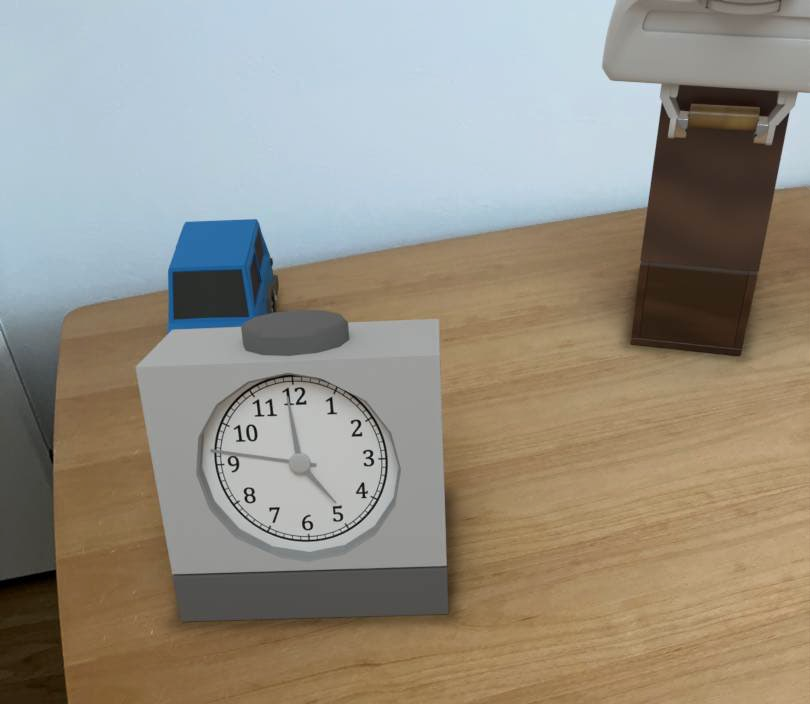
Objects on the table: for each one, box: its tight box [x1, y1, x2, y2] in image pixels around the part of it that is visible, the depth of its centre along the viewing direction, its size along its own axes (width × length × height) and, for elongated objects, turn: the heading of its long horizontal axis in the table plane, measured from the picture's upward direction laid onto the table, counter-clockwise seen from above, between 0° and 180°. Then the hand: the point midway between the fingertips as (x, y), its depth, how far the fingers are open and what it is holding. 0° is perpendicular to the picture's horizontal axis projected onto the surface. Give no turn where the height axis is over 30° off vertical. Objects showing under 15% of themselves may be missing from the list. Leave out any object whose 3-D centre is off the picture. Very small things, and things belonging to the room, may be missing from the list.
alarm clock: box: [135, 309, 449, 623], centre depth 75 cm, size 20×16×20 cm
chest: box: [630, 261, 759, 357], centre depth 101 cm, size 15×11×9 cm
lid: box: [639, 85, 791, 273], centre depth 87 cm, size 15×11×5 cm
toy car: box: [165, 218, 280, 337], centre depth 100 cm, size 9×19×10 cm, turn 179°
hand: (718, 139), depth 84 cm, fingers closed on lid, 5 cm apart
